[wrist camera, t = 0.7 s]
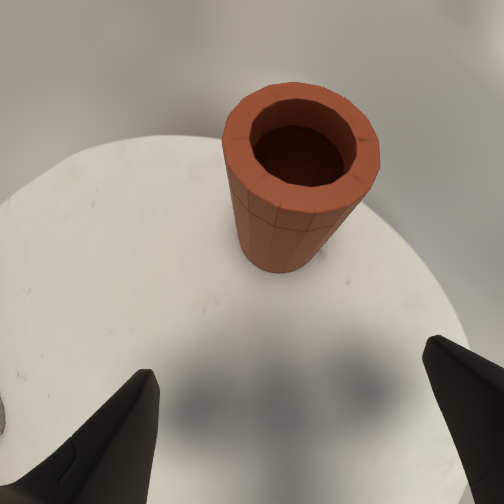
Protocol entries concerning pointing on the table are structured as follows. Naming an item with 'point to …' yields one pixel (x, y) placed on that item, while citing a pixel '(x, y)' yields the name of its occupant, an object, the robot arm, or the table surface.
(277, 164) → the jar
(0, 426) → the cup
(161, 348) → the table surface
